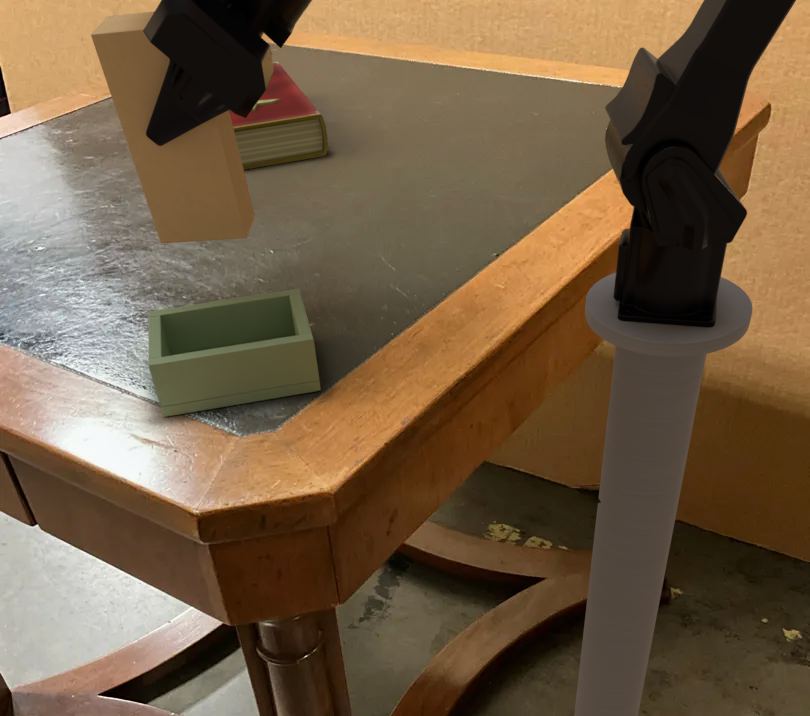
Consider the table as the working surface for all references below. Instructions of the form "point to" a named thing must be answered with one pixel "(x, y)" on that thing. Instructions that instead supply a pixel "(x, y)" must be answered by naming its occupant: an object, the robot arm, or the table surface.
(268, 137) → the hardcover book
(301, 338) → the holder
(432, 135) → the table surface
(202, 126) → the tan rectangular block
